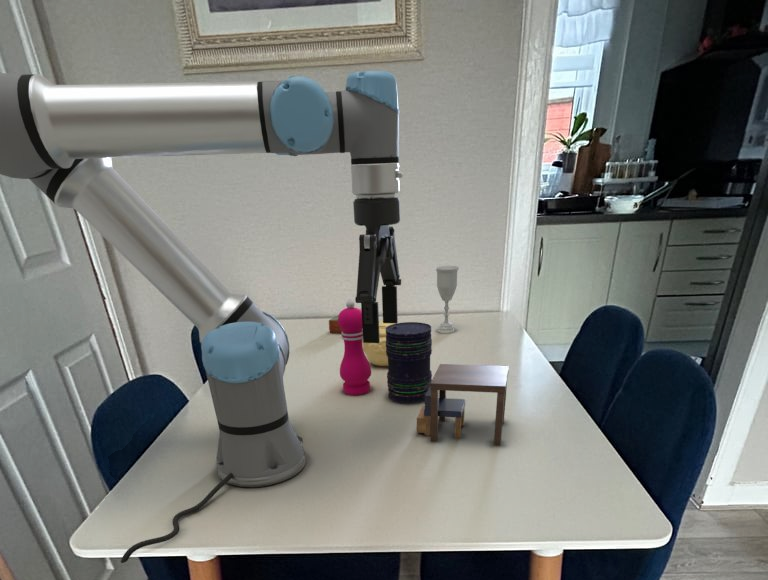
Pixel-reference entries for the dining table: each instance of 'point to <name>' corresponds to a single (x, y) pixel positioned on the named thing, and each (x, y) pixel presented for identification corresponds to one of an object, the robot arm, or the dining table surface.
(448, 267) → the chalice
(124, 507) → the dining table surface
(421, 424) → the blue toy chair
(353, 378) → the pepper mill
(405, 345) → the dark blue barrel
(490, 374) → the little table
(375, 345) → the sculpture
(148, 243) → the robot arm
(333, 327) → the carton
